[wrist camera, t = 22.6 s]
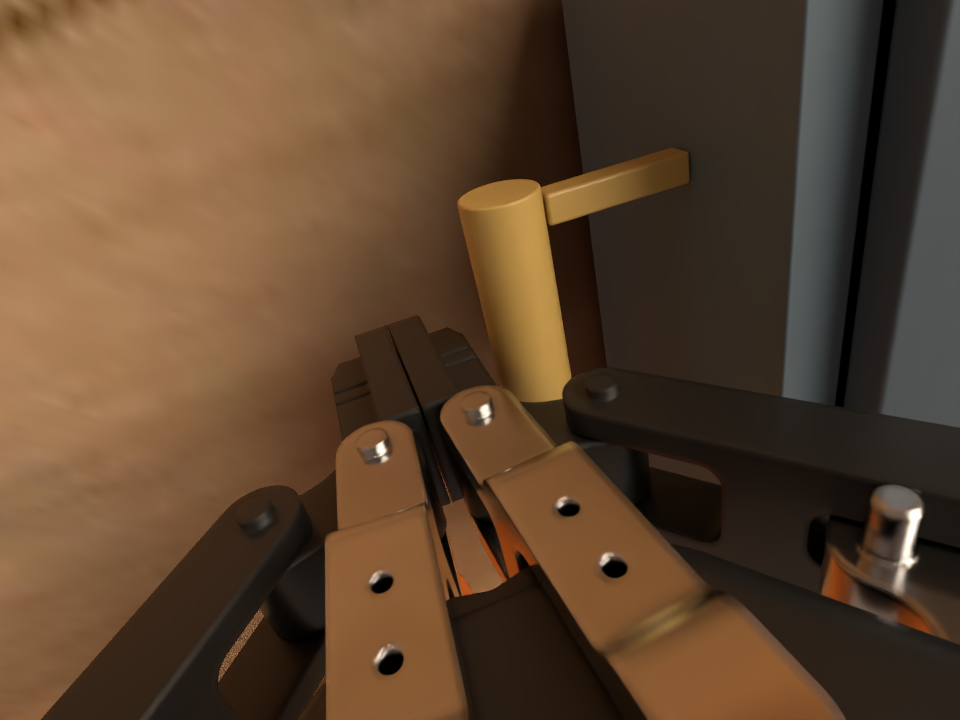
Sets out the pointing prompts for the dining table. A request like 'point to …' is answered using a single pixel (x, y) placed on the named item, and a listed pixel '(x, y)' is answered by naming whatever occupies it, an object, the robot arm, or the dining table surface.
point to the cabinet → (913, 229)
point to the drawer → (700, 198)
